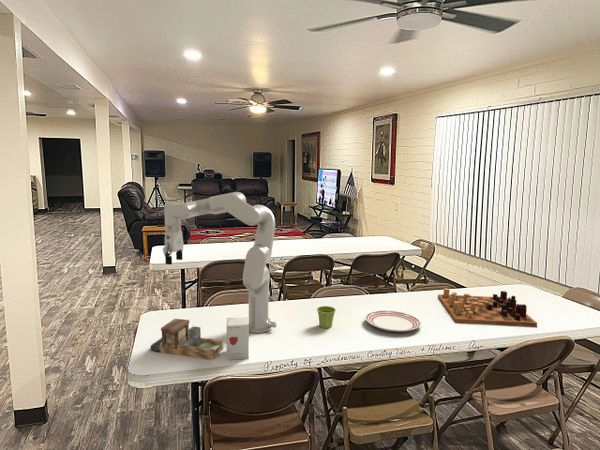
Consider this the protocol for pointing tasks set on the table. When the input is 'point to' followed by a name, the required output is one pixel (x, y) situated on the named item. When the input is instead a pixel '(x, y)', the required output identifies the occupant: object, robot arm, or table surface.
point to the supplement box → (237, 338)
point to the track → (204, 350)
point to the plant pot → (326, 316)
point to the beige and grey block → (193, 337)
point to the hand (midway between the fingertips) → (174, 261)
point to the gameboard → (486, 309)
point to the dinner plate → (393, 320)
